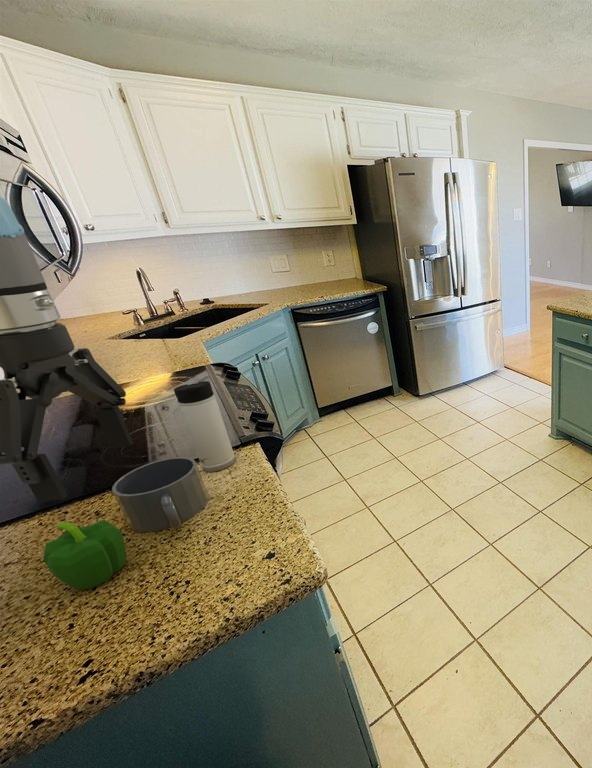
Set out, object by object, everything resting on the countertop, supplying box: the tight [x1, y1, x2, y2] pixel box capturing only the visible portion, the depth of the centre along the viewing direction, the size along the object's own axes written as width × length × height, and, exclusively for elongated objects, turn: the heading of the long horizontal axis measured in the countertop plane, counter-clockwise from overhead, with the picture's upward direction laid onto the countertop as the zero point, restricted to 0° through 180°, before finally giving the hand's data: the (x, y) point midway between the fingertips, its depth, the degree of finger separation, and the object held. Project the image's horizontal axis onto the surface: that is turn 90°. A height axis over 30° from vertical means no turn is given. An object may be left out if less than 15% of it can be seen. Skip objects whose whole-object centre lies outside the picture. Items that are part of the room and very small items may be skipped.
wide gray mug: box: [111, 456, 210, 533], centre depth 75 cm, size 16×12×8 cm
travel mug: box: [173, 380, 236, 473], centre depth 88 cm, size 6×7×20 cm
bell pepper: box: [42, 519, 127, 591], centre depth 62 cm, size 8×8×10 cm
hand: (91, 469), depth 59 cm, fingers open, 13 cm apart
